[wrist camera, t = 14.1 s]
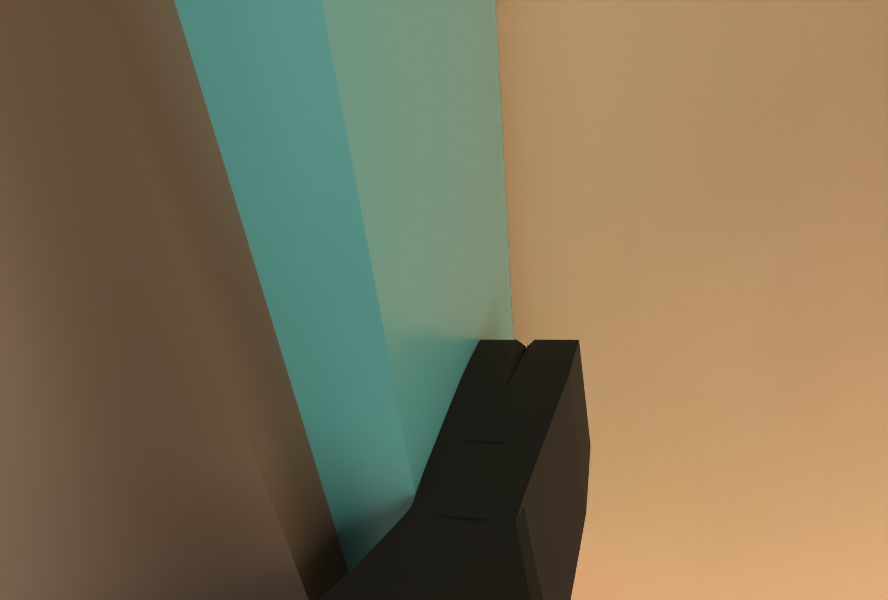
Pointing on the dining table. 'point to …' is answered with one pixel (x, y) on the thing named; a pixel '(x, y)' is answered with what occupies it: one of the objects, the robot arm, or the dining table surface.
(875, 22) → the dining table surface
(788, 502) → the dining table surface
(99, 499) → the spice box
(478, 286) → the drawer
